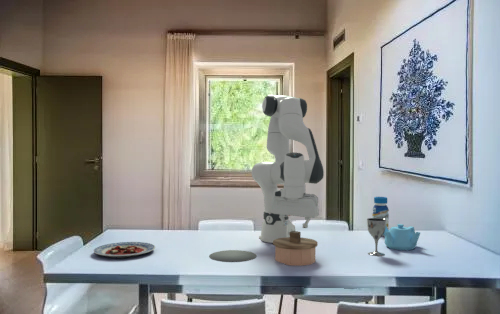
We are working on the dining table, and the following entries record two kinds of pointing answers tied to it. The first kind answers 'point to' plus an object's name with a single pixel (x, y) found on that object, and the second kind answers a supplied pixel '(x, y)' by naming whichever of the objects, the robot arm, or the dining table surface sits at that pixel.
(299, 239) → the lid
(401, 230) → the teapot
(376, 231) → the wine glass
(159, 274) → the dining table surface
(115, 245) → the ceramic plate
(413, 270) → the dining table surface
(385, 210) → the beverage bottle
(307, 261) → the bowl
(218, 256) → the tray
